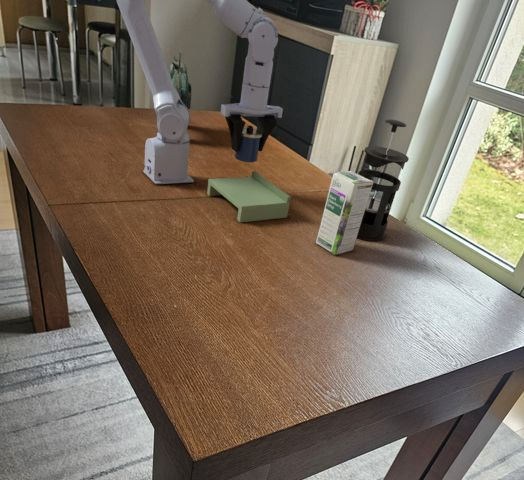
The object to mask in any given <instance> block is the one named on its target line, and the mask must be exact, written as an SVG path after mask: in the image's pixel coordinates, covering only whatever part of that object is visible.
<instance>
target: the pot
mask: <svg viewBox="0 0 524 480" xmlns="http://www.w3.org/2000/svg"><path fill="white" fill-rule="evenodd" d="M261 137H262V132H261V131H259V130H257V128H256V129H255V128H254V127H253V125H251V124H249V125H248V126H246V127H245V126H244V128H243V132H242V136H241V142H240V148H239V152H236V151H234V159H236V160H238V161H240V162H244V163H256V162H257V161H258V157H259V152H260V151H259V144H260V138H261Z"/></svg>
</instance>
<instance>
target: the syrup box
mask: <svg viewBox="0 0 524 480" xmlns="http://www.w3.org/2000/svg"><path fill="white" fill-rule="evenodd" d="M373 183H374V180H372V179H371V180H369V179H366V178H364V177H362V176H360V175H358V173H356V172H355V171H353V170H342V171H341V170H340V171H336V172H334V173H333V174H332V178H331V180H330V184H329V189H328V193H327V197H326V201H325V206H324V209H323V213H322V216H321V217H322V218H321V222H320V226H319V229H318V233H317V237H316V240H315V244H316V245H318V246H320V247H321V248H323V249H325V250H327V252H330V253H331V254H332V255H334V256H337V255H341V254H344V253H347V252H351V251H353V250H354V247H355V245H356V241H357V239H358V238H357V235H358V231H359V228H360V225H361V222H362V218H363V215H364V211H365V208H366V205H367V202H368V198H369V197H370V194H371V191H372V189H371V188H372V185H373Z"/></svg>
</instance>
